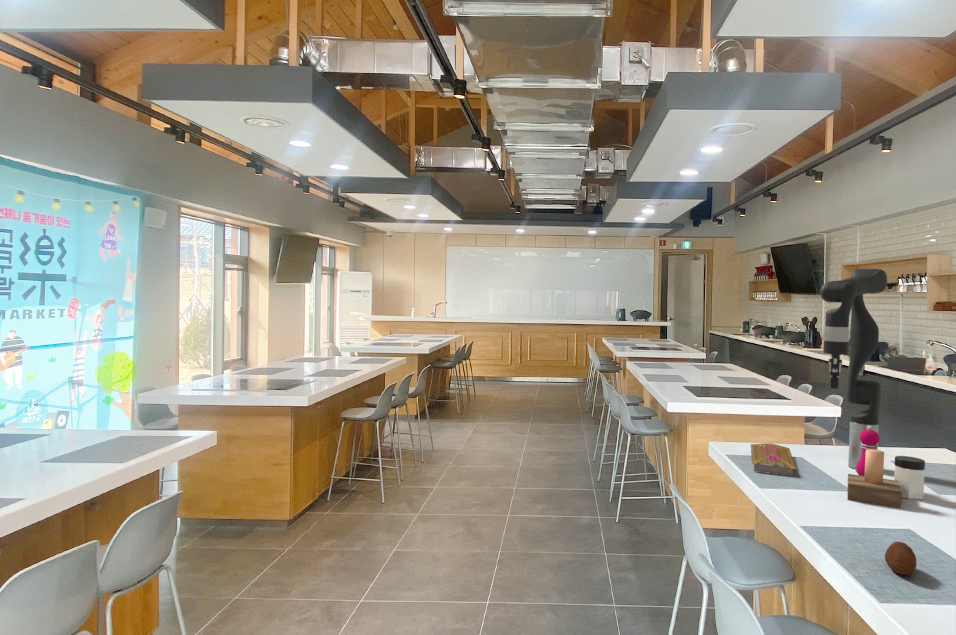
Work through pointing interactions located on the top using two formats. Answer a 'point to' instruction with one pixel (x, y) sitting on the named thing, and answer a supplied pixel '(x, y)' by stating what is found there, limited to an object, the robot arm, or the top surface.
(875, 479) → the post
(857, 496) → the base block
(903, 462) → the jar
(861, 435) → the pepper mill
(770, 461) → the slab with pink ridge
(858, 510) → the top surface
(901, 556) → the potato
